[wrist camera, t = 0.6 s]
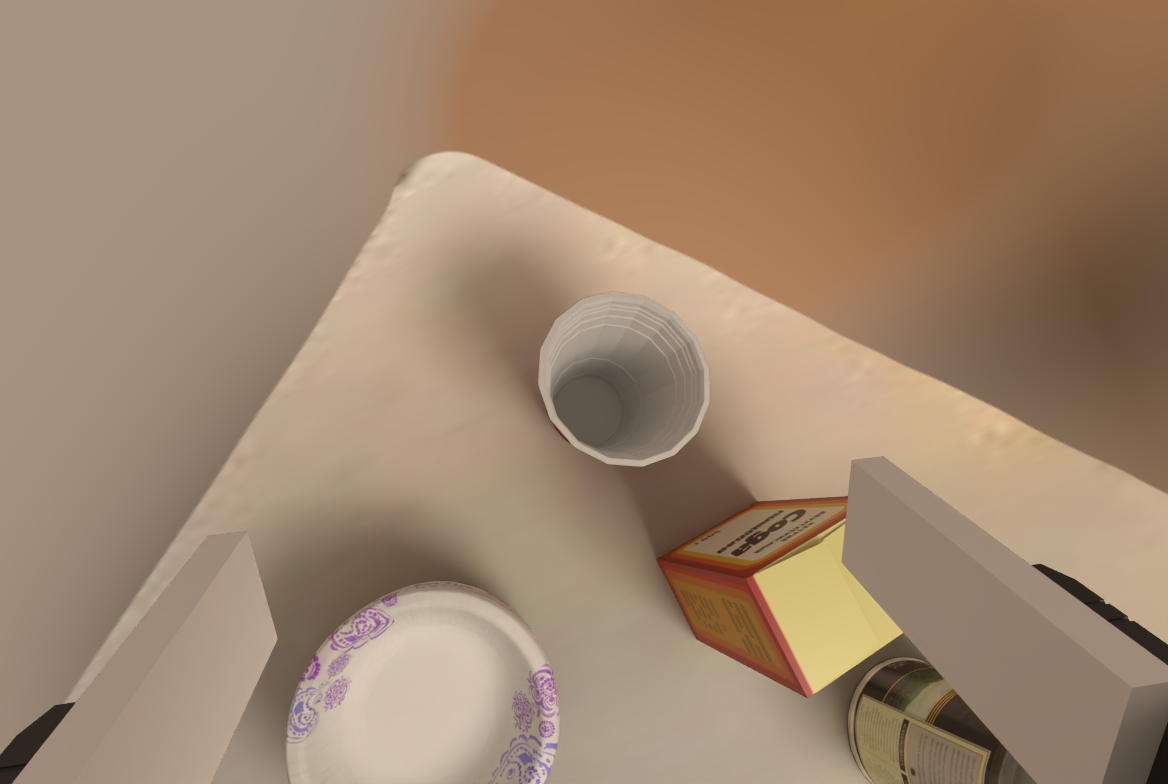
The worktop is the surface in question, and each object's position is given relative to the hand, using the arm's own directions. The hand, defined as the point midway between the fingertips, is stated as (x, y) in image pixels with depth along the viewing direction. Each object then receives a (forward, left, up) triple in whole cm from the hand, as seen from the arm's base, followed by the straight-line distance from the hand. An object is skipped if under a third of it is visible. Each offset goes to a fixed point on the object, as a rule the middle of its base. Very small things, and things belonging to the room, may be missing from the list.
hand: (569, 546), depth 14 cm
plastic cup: (+6, -9, -33) cm, 35 cm away
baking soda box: (-9, -15, -33) cm, 37 cm away
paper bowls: (-9, +8, -33) cm, 35 cm away
